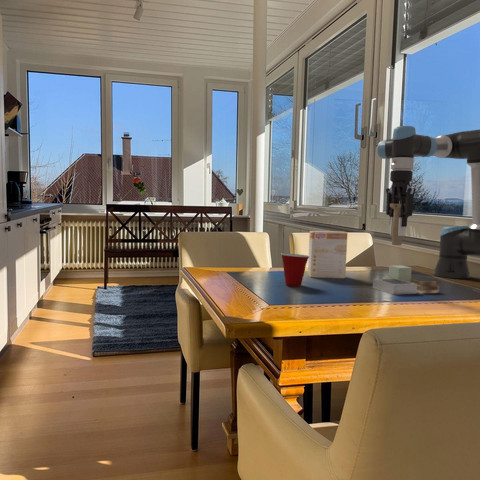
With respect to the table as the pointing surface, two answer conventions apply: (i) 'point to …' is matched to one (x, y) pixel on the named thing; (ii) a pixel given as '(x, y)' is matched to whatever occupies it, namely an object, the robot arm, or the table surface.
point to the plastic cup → (294, 268)
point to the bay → (424, 286)
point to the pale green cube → (400, 272)
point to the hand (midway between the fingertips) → (397, 235)
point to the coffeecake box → (327, 254)
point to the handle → (396, 224)
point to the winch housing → (395, 286)
